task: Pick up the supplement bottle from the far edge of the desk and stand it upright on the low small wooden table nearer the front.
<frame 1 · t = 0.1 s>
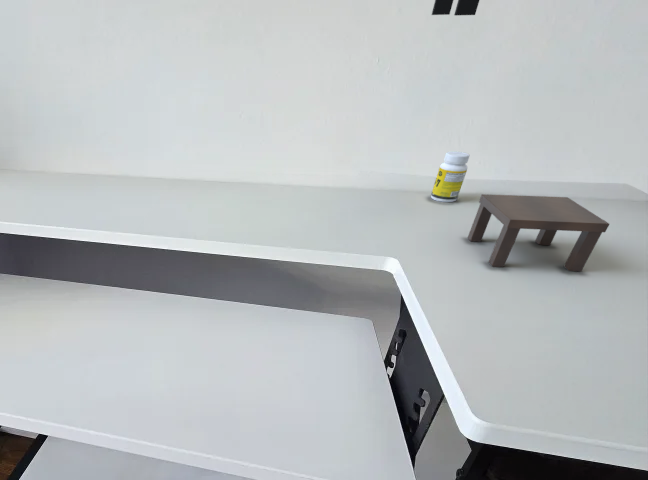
hand: (451, 15, 80), 30 cm above the table, tool pointing down, fingers open, 13 cm apart
supplement bottle: (442, 199, 98), on the table
small wooden table: (520, 253, 76), on the table
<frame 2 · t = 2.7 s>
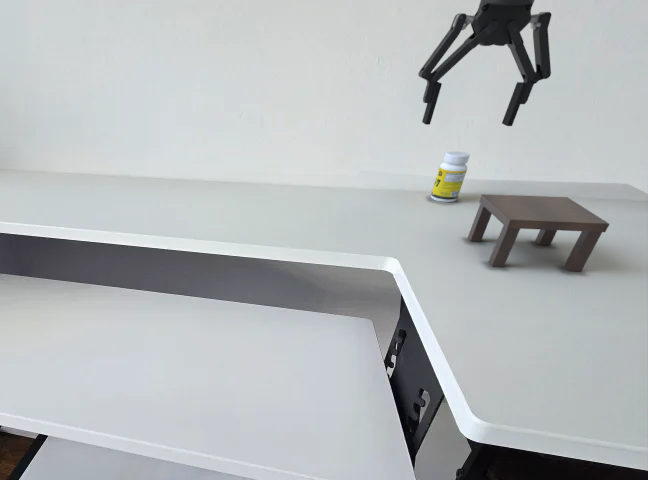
hand: (465, 124, 90), 13 cm above the table, tool pointing down, fingers open, 13 cm apart
nothing on the table moved.
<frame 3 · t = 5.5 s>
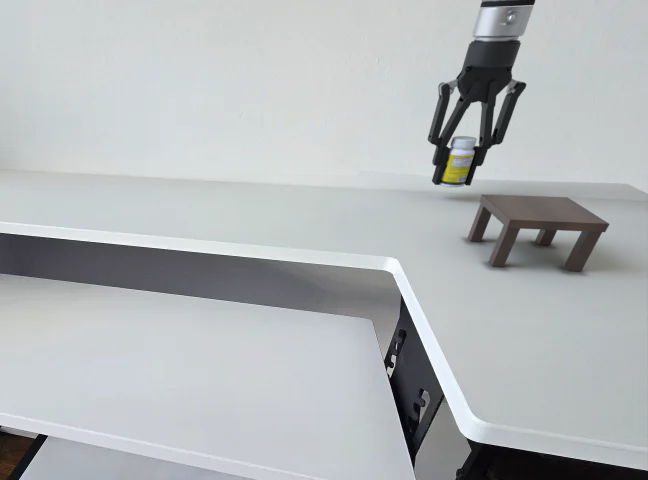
hand: (450, 183, 96), 3 cm above the table, tool pointing down, fingers closed on supplement bottle, 5 cm apart
supplement bottle: (449, 185, 96), point 3 cm above the table, touching gripper
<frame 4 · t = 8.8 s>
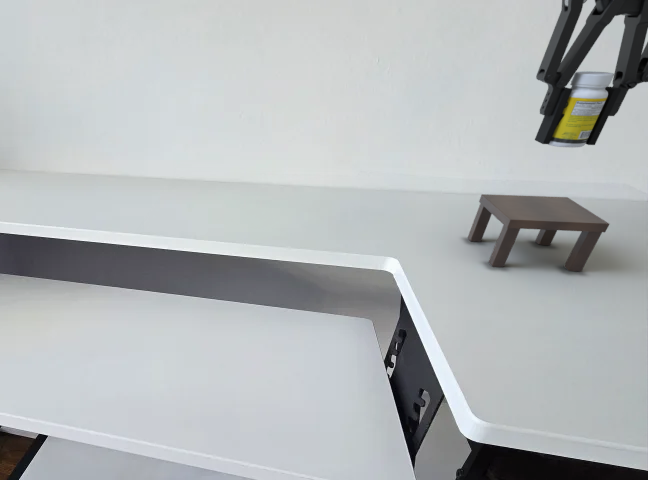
hand: (564, 142, 67), 16 cm above the table, tool pointing down, fingers closed on supplement bottle, 5 cm apart
supplement bottle: (562, 145, 67), point 15 cm above the table, touching gripper
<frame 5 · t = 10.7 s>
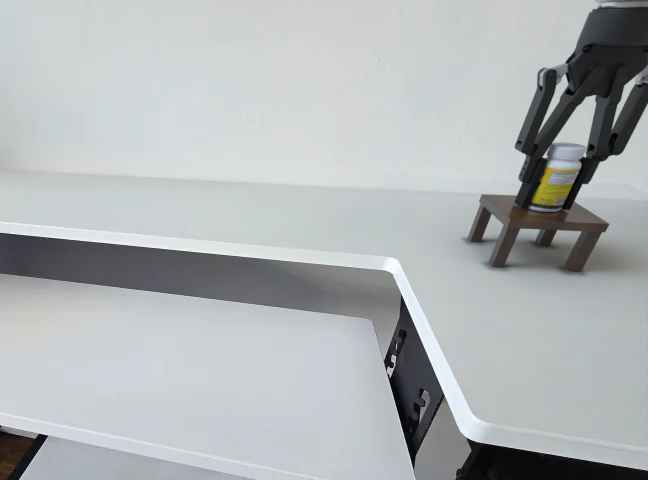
hand: (541, 205, 71), 7 cm above the table, tool pointing down, fingers closed on supplement bottle, 5 cm apart
supplement bottle: (540, 209, 71), point 7 cm above the table, touching gripper
when the fingers open (7 cm above the table, at t = 12.3 s): supplement bottle stays where it is, resting on small wooden table.
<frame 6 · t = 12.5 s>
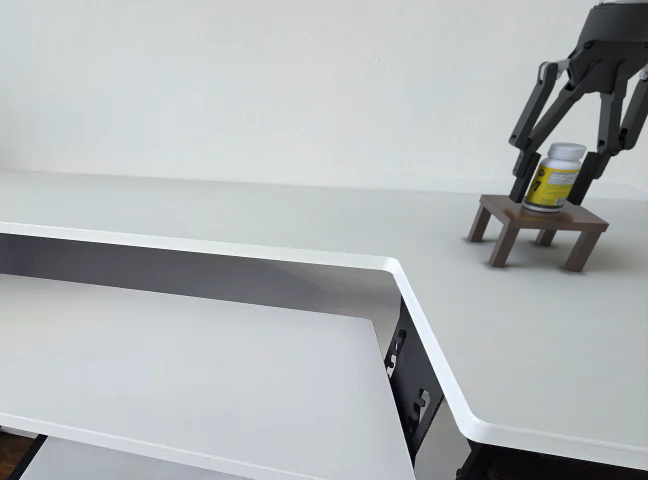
hand: (543, 201, 71), 8 cm above the table, tool pointing down, fingers open, 7 cm apart
supplement bottle: (540, 209, 71), point 7 cm above the table, touching small wooden table
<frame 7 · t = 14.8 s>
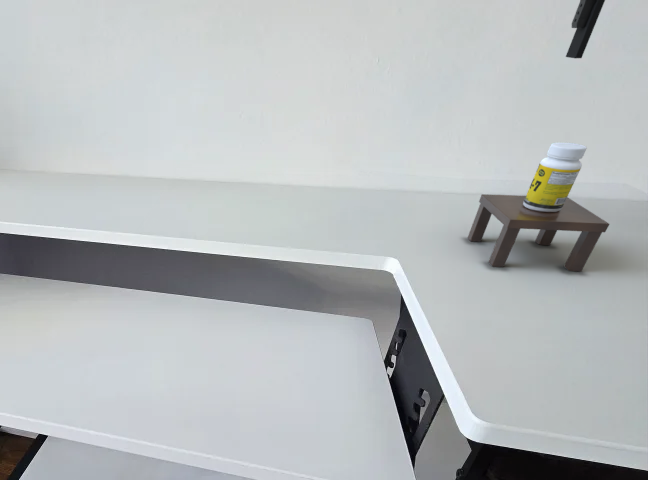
hand: (629, 56, 67), 25 cm above the table, tool pointing down, fingers open, 13 cm apart
nothing on the table moved.
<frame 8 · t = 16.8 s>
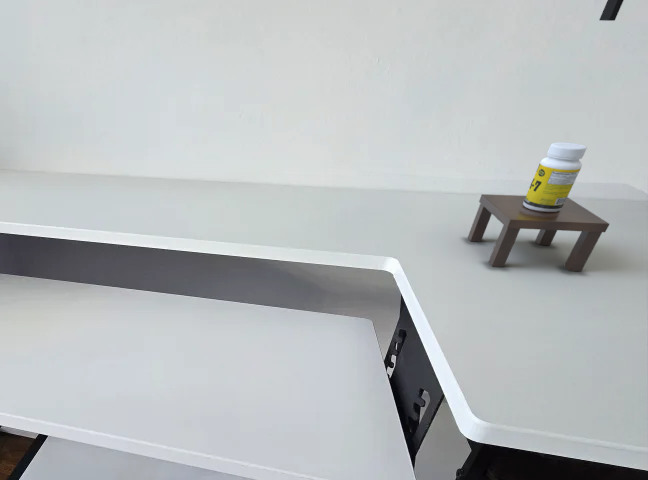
nothing on the table moved.
at the end: supplement bottle inside the target area on the small wooden table (0.1 cm from its centre), point 6.8 cm above the small wooden table's base; supplement bottle tilted 0°; the gripper is holding nothing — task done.
